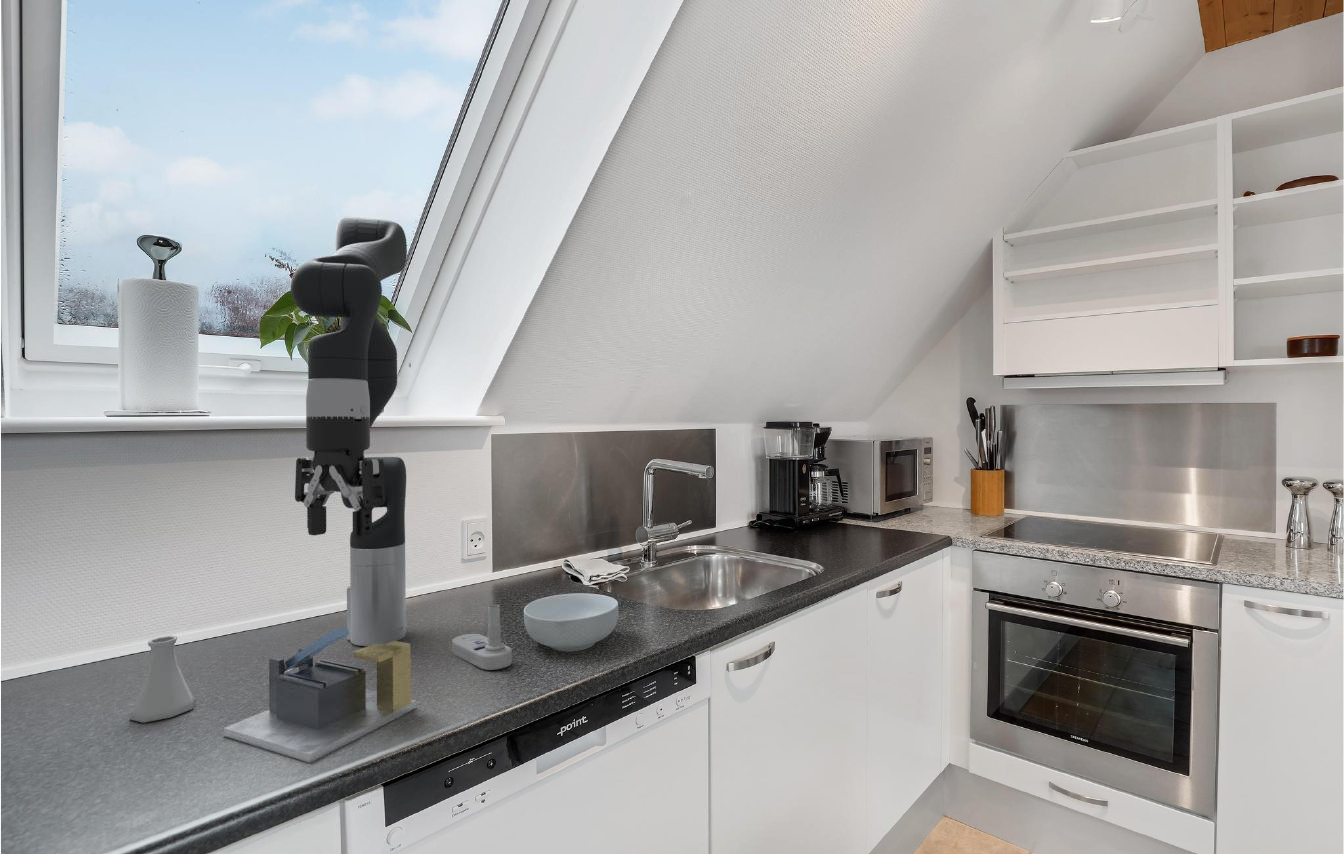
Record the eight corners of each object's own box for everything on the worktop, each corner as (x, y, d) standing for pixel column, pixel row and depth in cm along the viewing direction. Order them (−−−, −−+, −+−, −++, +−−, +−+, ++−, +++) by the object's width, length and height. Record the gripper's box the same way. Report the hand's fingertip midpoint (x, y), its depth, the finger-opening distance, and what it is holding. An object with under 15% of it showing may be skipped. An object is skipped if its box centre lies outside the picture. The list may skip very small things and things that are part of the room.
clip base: (223, 735, 82) (223, 672, 82) (336, 688, 97) (335, 634, 96) (309, 762, 75) (309, 693, 75) (416, 707, 90) (416, 650, 90)
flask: (187, 696, 94) (186, 627, 94) (203, 710, 90) (202, 637, 90) (123, 713, 89) (122, 640, 89) (136, 729, 84) (135, 652, 84)
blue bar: (280, 674, 87) (276, 664, 88) (299, 667, 90) (296, 657, 90) (332, 641, 83) (328, 630, 83) (351, 634, 86) (347, 624, 86)
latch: (354, 713, 86) (353, 651, 86) (386, 697, 91) (386, 639, 91) (378, 719, 84) (378, 656, 84) (410, 703, 89) (410, 643, 89)
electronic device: (474, 591, 117) (516, 605, 106) (475, 646, 116) (518, 666, 106) (445, 597, 113) (486, 612, 102) (447, 653, 113) (488, 675, 102)
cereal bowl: (556, 625, 127) (556, 589, 127) (634, 634, 121) (633, 596, 121) (503, 653, 111) (503, 612, 111) (590, 666, 105) (589, 623, 105)
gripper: (276, 414, 86) (276, 537, 86) (351, 413, 80) (352, 545, 80) (327, 415, 93) (328, 529, 93) (400, 414, 87) (401, 536, 87)
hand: (339, 536), depth 86 cm, fingers open, 8 cm apart
